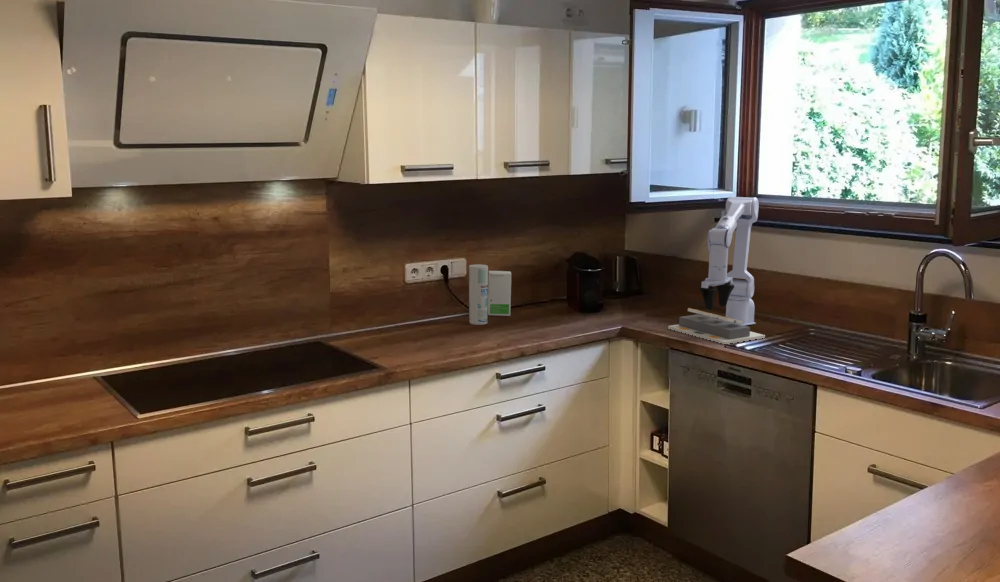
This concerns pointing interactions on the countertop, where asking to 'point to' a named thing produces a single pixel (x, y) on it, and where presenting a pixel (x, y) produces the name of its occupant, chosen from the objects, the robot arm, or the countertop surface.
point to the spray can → (478, 294)
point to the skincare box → (499, 293)
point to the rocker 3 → (730, 319)
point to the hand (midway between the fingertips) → (715, 307)
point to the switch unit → (714, 329)
